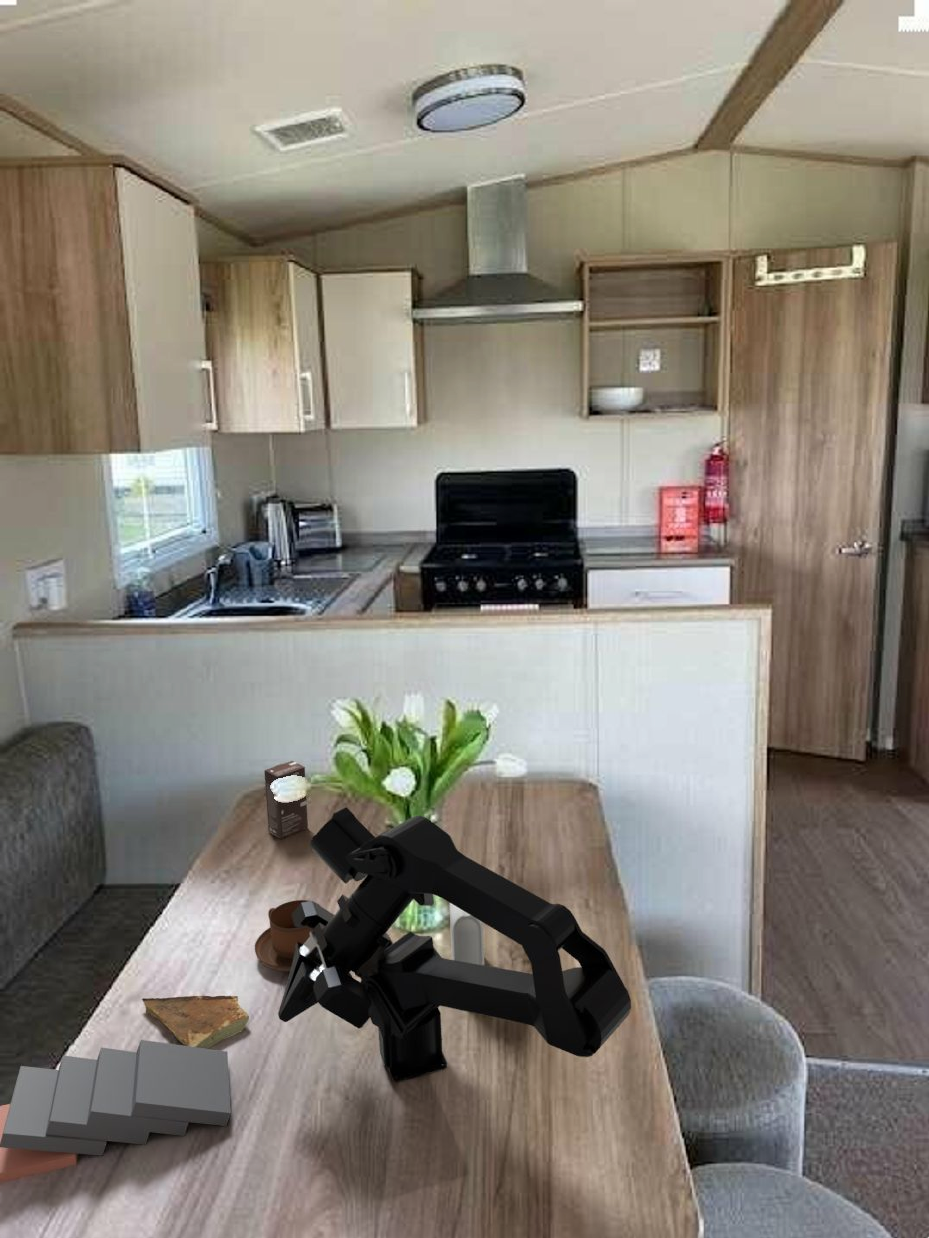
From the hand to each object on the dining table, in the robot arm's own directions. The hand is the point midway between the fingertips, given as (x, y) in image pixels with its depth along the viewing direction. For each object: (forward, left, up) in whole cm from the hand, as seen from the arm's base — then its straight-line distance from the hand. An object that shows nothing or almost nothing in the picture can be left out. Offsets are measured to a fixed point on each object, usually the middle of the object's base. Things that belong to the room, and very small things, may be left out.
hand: (281, 1018), depth 105 cm
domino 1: (+19, 0, -7) cm, 20 cm away
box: (-8, -62, -8) cm, 63 cm away
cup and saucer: (-5, -24, -8) cm, 26 cm away
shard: (+10, -13, -9) cm, 18 cm away
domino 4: (+11, 0, -7) cm, 13 cm away
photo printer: (-25, -11, -8) cm, 29 cm away
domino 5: (+7, 0, -7) cm, 10 cm away
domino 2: (+22, 0, -8) cm, 23 cm away
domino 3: (+15, 0, -7) cm, 17 cm away
